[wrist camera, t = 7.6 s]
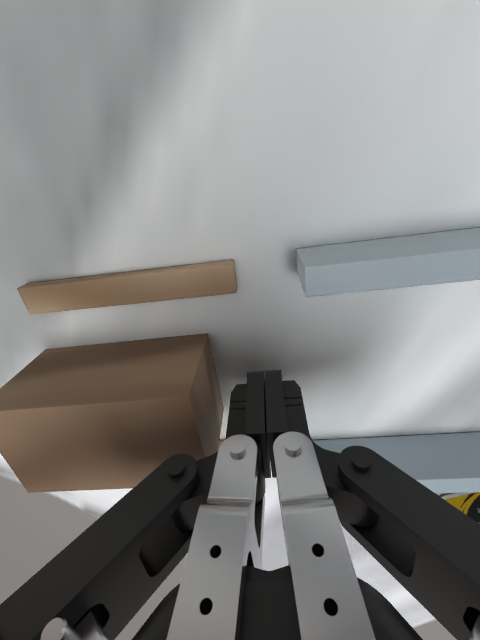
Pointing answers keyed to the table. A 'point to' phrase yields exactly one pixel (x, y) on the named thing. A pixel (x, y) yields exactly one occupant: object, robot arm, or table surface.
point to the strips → (130, 288)
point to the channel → (394, 272)
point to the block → (109, 412)
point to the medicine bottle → (466, 503)
